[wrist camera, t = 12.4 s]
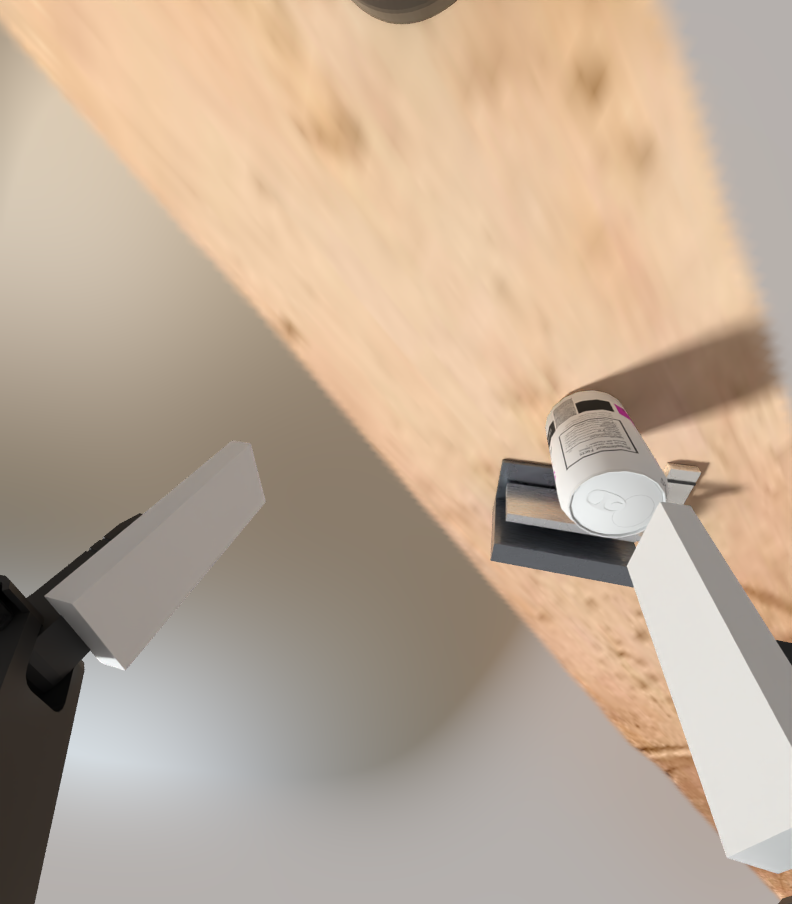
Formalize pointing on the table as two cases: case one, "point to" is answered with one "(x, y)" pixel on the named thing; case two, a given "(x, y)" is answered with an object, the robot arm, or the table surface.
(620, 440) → the supplement can
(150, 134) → the table surface
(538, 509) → the gauge plunger
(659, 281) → the table surface
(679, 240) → the table surface
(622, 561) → the gauge housing
